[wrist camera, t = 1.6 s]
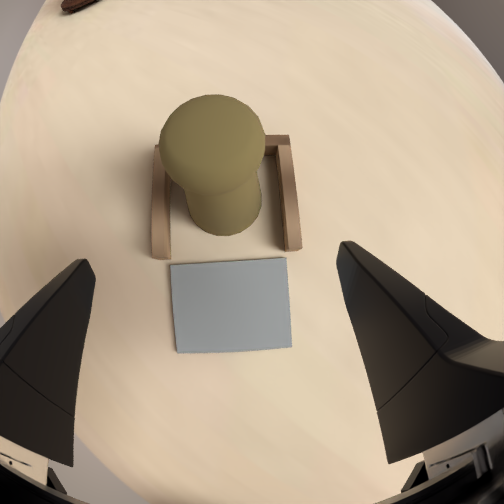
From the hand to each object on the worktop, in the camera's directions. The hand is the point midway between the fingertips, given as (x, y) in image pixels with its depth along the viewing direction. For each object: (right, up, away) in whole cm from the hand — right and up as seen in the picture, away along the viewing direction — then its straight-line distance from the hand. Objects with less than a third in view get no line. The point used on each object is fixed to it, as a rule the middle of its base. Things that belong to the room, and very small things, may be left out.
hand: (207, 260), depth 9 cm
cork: (-1, +4, +13) cm, 14 cm away
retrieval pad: (0, -4, +12) cm, 12 cm away
